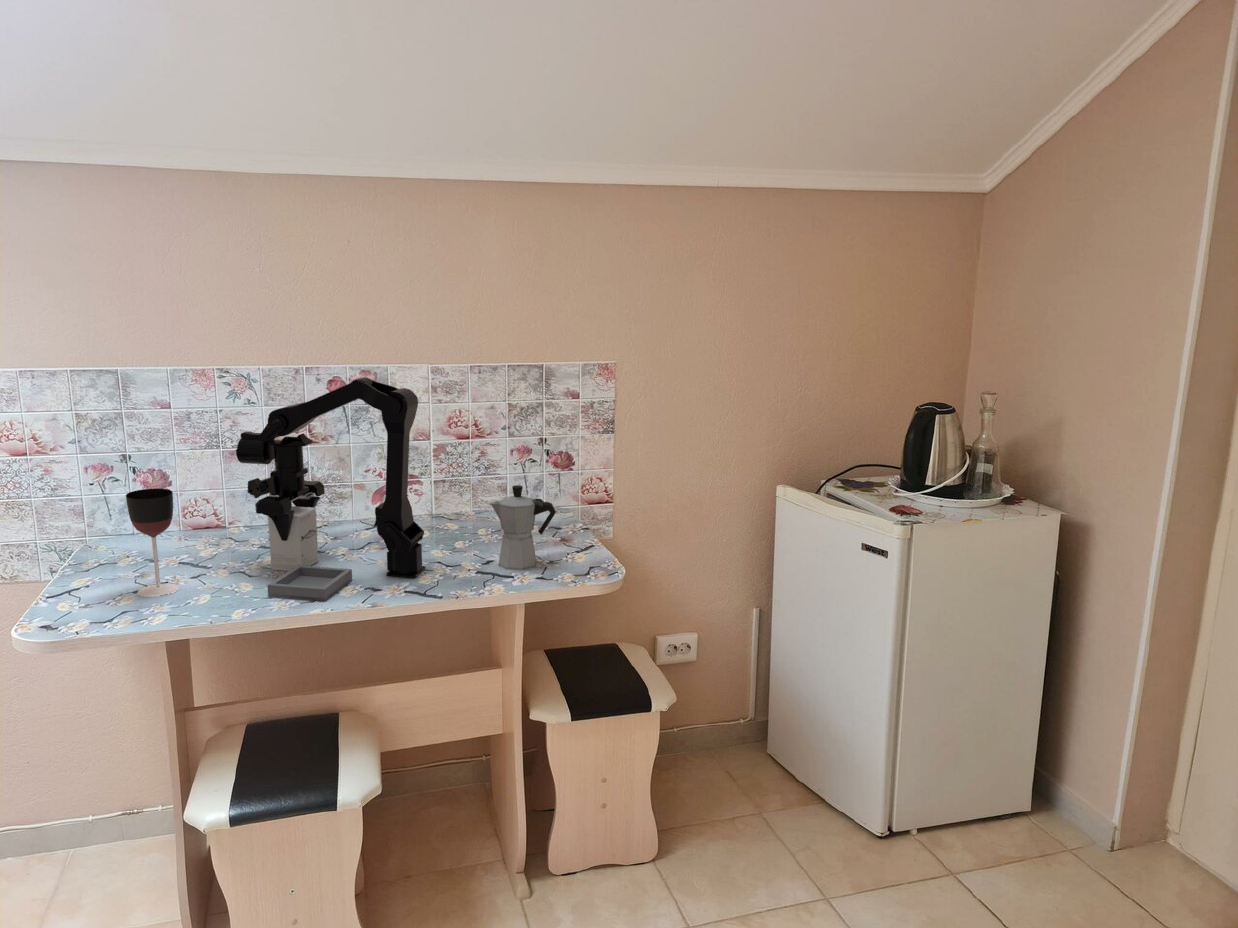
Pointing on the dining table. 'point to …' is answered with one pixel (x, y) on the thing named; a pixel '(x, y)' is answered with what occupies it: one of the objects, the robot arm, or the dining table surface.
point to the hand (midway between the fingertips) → (293, 535)
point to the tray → (310, 583)
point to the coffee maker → (519, 528)
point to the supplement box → (295, 541)
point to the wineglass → (152, 527)
